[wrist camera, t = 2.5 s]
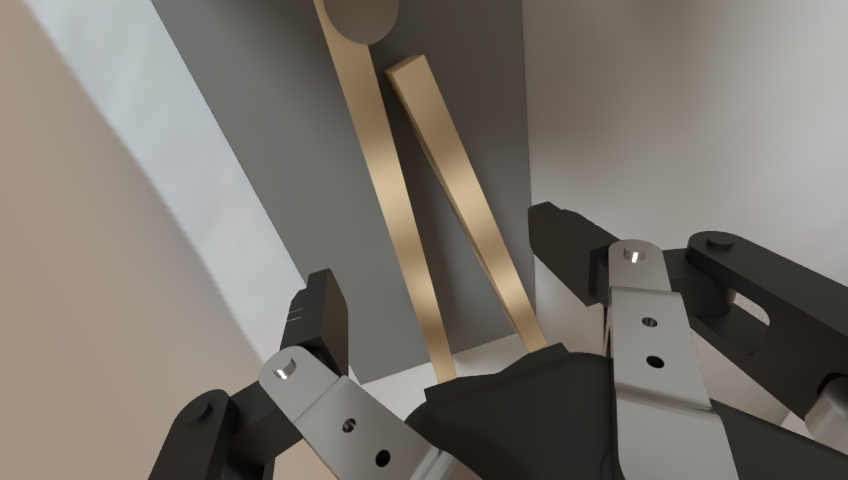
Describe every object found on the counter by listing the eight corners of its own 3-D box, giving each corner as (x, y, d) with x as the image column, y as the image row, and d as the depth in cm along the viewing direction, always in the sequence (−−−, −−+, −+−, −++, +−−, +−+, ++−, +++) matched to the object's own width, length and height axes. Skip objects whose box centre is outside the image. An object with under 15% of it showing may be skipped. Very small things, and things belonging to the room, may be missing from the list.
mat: (135, -39, 13) (127, -43, 12) (508, -124, 14) (515, -132, 13) (360, 379, 27) (360, 385, 27) (533, 321, 28) (536, 325, 28)
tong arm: (382, 70, 16) (392, 73, 12) (406, 56, 16) (424, 54, 12) (505, 315, 26) (530, 353, 23) (521, 307, 26) (547, 344, 23)
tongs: (312, -12, 14) (300, -39, 10) (376, -28, 14) (387, -59, 10) (427, 345, 26) (440, 390, 22) (461, 334, 26) (479, 377, 23)
